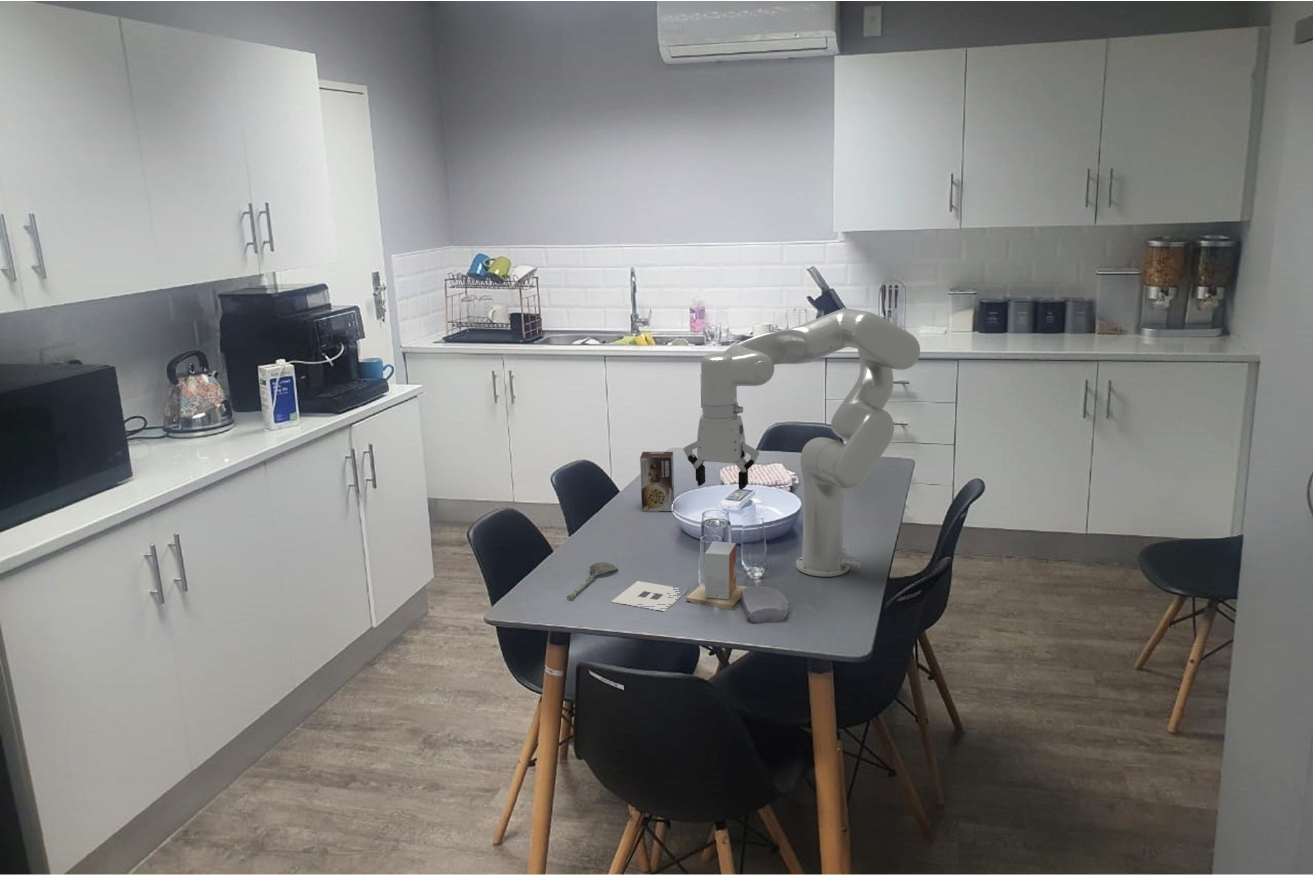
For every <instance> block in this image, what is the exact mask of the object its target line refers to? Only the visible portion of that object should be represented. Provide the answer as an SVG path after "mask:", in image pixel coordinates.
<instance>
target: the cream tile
mask: <svg viewBox="0 0 1313 875" xmlns="http://www.w3.org/2000/svg"><path fill="white" fill-rule="evenodd" d="M673 587H674V586H670V585H665V584H658V583H651V582H646V581H639V580H637V581H636V582H634V583H633V584H632V585H630V586H629V587H628V588H627V589H625V590H624V591H623V592H622V593H620V594H619V595H618V596H616V597H615V598H614V599H612V600H611V601H610V603H614V604H617V603H618V605H623V604H627V605H626V606H628V605H631V606H630V607H634V606H638V607H637V608H639V607H640V606H655V607H644V608H643V609H645V608H649V609H648V610H650V609H653V610H652V611H656V610H662V611H665V610H666V611H668V609H660V608H668V607H666V606H671V605H668V604H673V605H674V604H676V603H677V602H678V601H677V600H675V599H679V598H677V597H681V596H673V595H677V593H680V592H676V593H675V591H679V590H673V589H679V588H680V587H676V588H673ZM653 593H656V594H653ZM667 593H670V594H667ZM662 595H663V596H662ZM669 595H671V596H669ZM668 597H673V598H668ZM681 598H682V597H681ZM679 600H680V599H679ZM676 601H677V602H676ZM637 604H643V605H637ZM657 604H666V605H657ZM671 607H672V606H671ZM666 611H665V612H666Z"/></svg>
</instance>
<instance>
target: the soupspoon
mask: <svg viewBox="0 0 1313 875" xmlns="http://www.w3.org/2000/svg"><path fill="white" fill-rule="evenodd" d="M589 570H590V571H591V572H592V574H591V575H589V577H588V578H586V579H585V580H584V582H582V583H581V585H580V586H579V587H577V589H575V590H574V591H573V592H572V593H570V594H568V595H567V596H566V598H567V600H570V601H574V600H575V597H576V596H577V595H578V593H579V592H580V591H581V590H582V589H583V587H585V586H586V585H587V584H588V583H589V582H590V581H591V580H592V579H594V577H596V576H598V575H600V574H604V573H605V574H606V573H608V572H613V571H616V570H618V567H617V566H615V565H614V564H612V563H608V562H605V561H603V562H601V561H600V562H595V563H594V564H592V565H590V566H589Z"/></svg>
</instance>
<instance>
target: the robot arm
mask: <svg viewBox="0 0 1313 875" xmlns="http://www.w3.org/2000/svg"><path fill="white" fill-rule="evenodd" d="M845 348H853V349H857V354H858V357H859V365H860V366H859V367H860V369H859V370H860V371H859V374H858V375H859V376H858V378H857V379H856V382H855V384H853V387H851V388H852V389H851V390H850V391H849V393H847V396H846V397H845V398H844V399H843V401H842V402H841V404H840V405H839V407H838V408H837V409H836V411H835V412H834V414H833V416H832V419H831V422H830V427H831V430H832V432H833V433H834V434H835V435H836V436H837V437H839V438H840V439H842V440H844V441H846V442H845V443H843V442H841V441H839V440H836V439H833V438H830V437H822V436H821V437H819V436H818V437H815V438H811V439H810V440H809V441H807V442H806V443H805V445H804V446H803V448H802V450H801V454H800V468H801V474H802V480H803V517H802V518H803V520H802V556H800V557H799V558H797V560H796V561H795V568H796V569H797V570H798V571H800V572H801V573H803V574H806V575H809V576H813V577H821V578H822V577H823V578H828V577H829V578H831V577H838V576H842V575H844V574H846V573H847V572H848V571H849V570H850V567H853V568H858V569H860V568H861V564H862V560H861V559H859V556H857V555H856V556H855V555H850V554H848V549H847V548H844V541H845V540H844V537H845V508H846V495H845V494H846V493H845V489H846V490H847V489H848V490H849V489H854V488H856V487H857V486H859V485H860V484H861V483H863V481H864V480H866V478H867V476H868V475H869V474H870V473H871V471H872V470H873V468H874V467H875V465H876V464H877V463H878V462H879V460H880V458H881V457H882V456H883V454H884V453H885V451H886V450H887V448H888V446H890V443H891V441H892V439H893V437H894V430H895V422H894V418H893V417H892V415H891V414H890V413H889V412H888V411H887V410H885V409H884V408H885V406H886V404H888V403H887V402H888V401H889V400H890V398H891V396H892V393H893V391H894V390H893V389H894V375H893V369H894V370H896V371H897V370H898V371H905V370H907V369H910V368H912V367H914V366H915V365H916V363H917V362H918V360H919V358H920V355H921V347H920V343H919V341H918V339H917V337H915V336H914V335H913V334H912V333H910V332H908V331H907V330H906V329H903V328H901V327H899V326H897V325H896V324H894V323H892V322H890V321H889V320H887V319H885V318H883V317H881V316H879V315H877V314H875V313H873V312H870V311H867V310H860V309H853V308H841V309H837V310H835V311H833V312H830V313H827V314H825V315H823V316H820V317H818V318H815V319H813V320H811V321H807V322H806V323H802V324H800V325H797V326H794V327H791V328H785V329H781V330H777V331H773V332H772V331H771V332H768V333H764V334H760V335H756V336H753V337H750V338H748V339H744V340H743V341H740V342H738V343H736V344H733V345H731V346H730V347H729V348H727V349H726V350H725V351H724V352H723V353H721V352H720V353H719V352H718V353H715V352H714V353H710V354H706V355H704V356H703V357H702V359H701V362H700V373H701V374H700V378H701V401H702V402H701V404H702V407H701V408H702V415H701V416H700V417H699V420H698V428H697V436H696V437H697V441H695V442H693V443H690V444H688V445H686V446H685V447H684V448H683V453H684V454H685V455H686V456H685V457H687V460H688V461H689V462H690V463H691V465H692V466H693V468H694V469H695V481H696V482H697V486H698V487H701V486H703V485H704V484H705V483H706V467H705V465H704V463H705V462H708V463H721V464H735V465H736V467H737V468H738V469H739V470H740V471H739V472H738V489H739V490H741V491H742V490H744V489H745V488H746V487H747V486H748V484H749V469H750V468H751V467H753V465H755V463H756V461H757V460H758V457H759V456H760V451H759V450H757V449H756V448H754V447H753V446H750V445H748V444H747V443H746V437H745V436H746V435H745V428H744V424H743V419H742V416H741V415H739V414H743V413H744V407H743V406H740V405H739V402H738V398H737V394H738V392H737V389H738V387H759V386H763V385H764V384H767V383H768V382H769V381H770V380H771V379H772V377H773V375H774V373H775V365H783V364H784V365H799V364H808V363H812V362H815V361H817V360H819V359H821V358H823V357H826V356H828V355H830V354H833V353H836V352H838V351H841V350H843V349H845ZM693 450H696V452H697V453H696V454H697V455H695V454H694V452H693ZM747 454H748V455H749V456H750V458H749V460H748V461H747V459H745V458H746V455H747Z"/></svg>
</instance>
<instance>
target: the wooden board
mask: <svg viewBox="0 0 1313 875" xmlns="http://www.w3.org/2000/svg"><path fill="white" fill-rule="evenodd" d="M746 587H747V586H744V585H738V584H736V588H735V589H734V591H733V593H732V595H731V597H730V599H717V598H706V597H705V589H704V588H702V587H701V586H700V585H698V586H697V587H696V588H695V589H694V590H693V591H692V592H691V593H690V594H688V595H687V596H686V597H685V602H686V601H690V602H689V603H691V602H694V603H693V604H697V603H700V604H699V605H702V604H708V605H711V606H710V607H714V606H715V608H719V609H724V610H725V609H726V610H731V611H733V610H734V609H735V608H737V607H738V605H740V603H741V590H742V589H744V588H746ZM708 605H707V606H708Z"/></svg>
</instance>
